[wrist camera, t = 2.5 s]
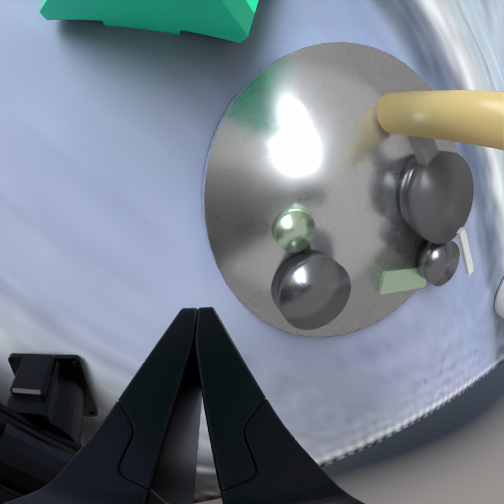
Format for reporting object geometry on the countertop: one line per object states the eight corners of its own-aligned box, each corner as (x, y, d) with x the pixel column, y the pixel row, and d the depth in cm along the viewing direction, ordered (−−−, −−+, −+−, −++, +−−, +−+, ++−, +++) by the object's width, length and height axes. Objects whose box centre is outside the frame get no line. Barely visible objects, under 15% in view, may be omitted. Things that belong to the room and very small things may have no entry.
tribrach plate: (422, 309, 29) (442, 324, 26) (201, 344, 23) (209, 372, 20) (457, 88, 22) (484, 89, 19) (211, 20, 15) (222, 0, 12)
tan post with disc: (468, 237, 26) (558, 281, 16) (425, 285, 26) (515, 348, 16) (411, 75, 18) (542, 72, 9) (349, 119, 18) (499, 129, 9)
